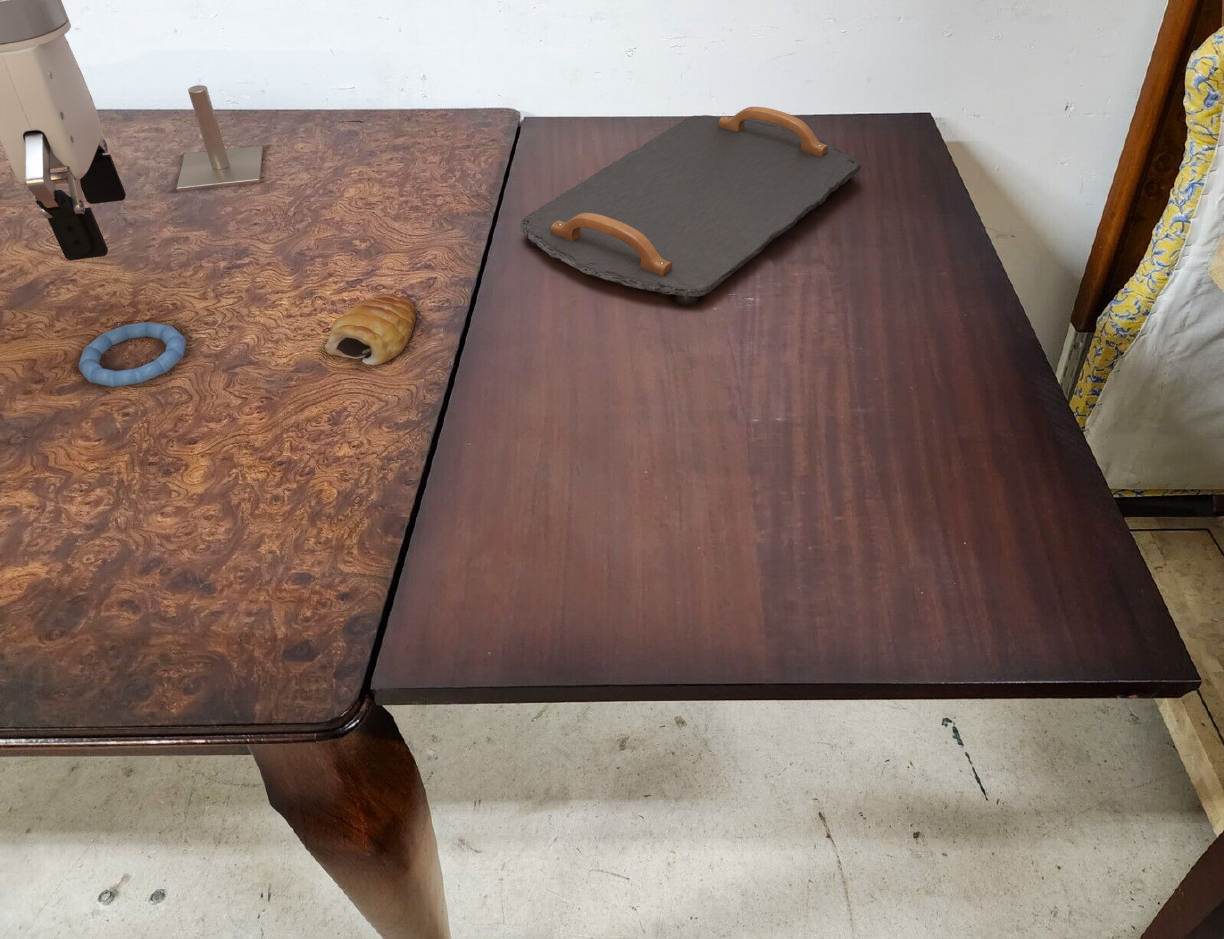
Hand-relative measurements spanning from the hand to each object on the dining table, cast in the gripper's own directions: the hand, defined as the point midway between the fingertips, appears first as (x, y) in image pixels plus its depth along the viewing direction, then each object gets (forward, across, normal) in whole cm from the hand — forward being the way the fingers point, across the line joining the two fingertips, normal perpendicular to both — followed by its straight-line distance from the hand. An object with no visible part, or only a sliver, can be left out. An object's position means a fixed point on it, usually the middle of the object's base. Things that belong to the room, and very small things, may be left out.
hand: (98, 227), depth 82 cm
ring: (+11, +4, 0) cm, 11 cm away
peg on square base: (+11, -32, +5) cm, 35 cm away
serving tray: (+12, -10, +56) cm, 58 cm away
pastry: (+12, +6, +21) cm, 24 cm away
